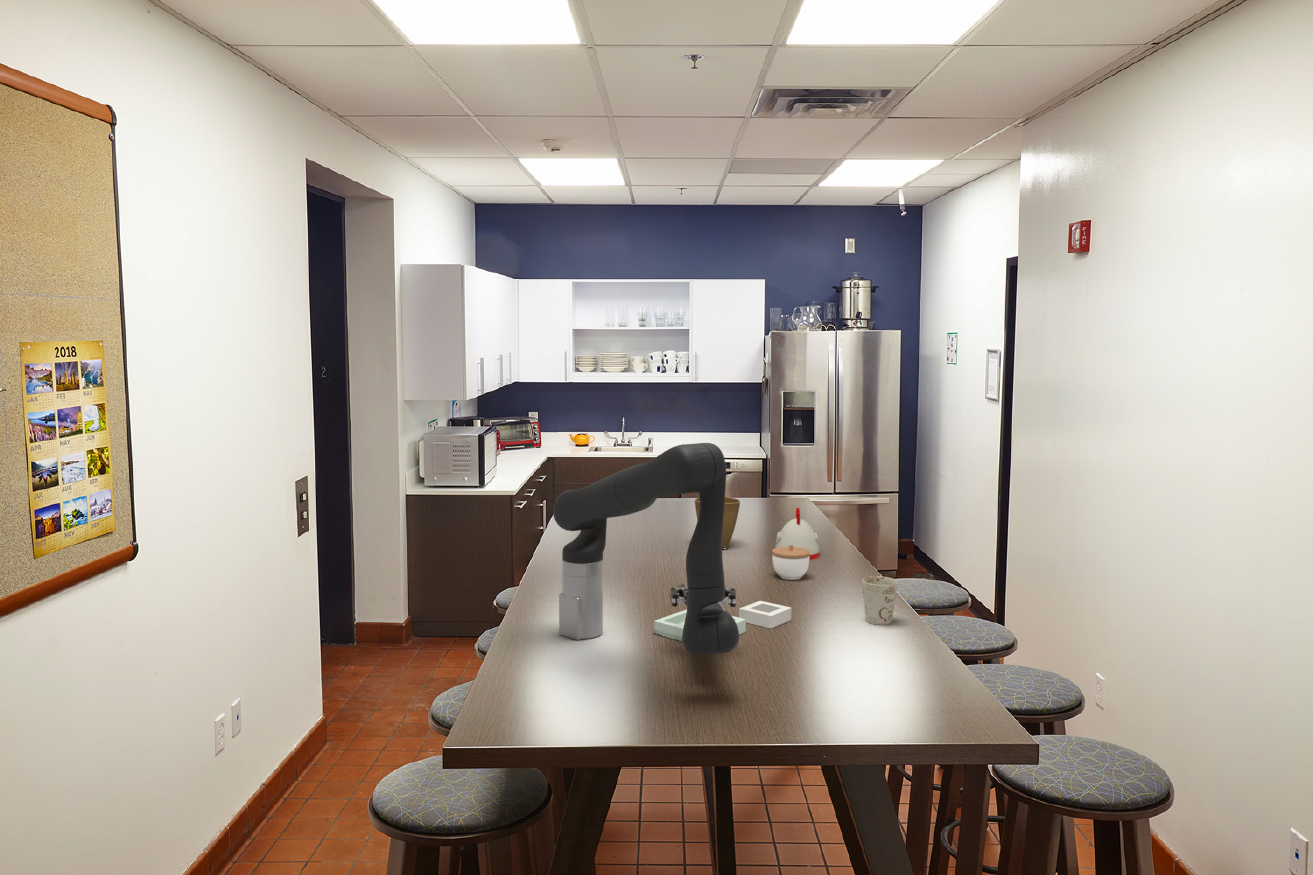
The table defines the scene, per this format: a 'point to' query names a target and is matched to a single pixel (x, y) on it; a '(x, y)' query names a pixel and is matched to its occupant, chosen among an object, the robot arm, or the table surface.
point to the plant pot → (725, 518)
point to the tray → (675, 624)
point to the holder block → (765, 614)
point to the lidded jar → (790, 562)
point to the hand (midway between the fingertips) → (701, 588)
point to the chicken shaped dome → (799, 536)
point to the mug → (879, 599)
